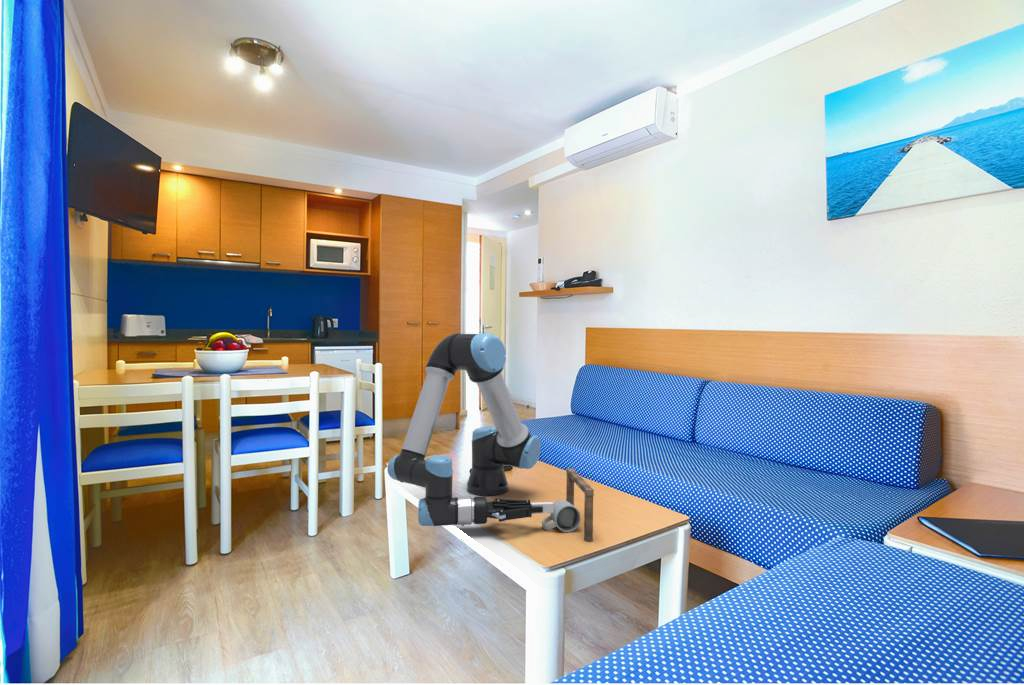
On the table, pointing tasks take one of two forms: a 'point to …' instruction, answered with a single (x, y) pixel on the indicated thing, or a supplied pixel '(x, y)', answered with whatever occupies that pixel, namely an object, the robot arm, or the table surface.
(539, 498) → the table surface
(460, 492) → the table surface
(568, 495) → the walnut gate
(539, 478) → the table surface
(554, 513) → the ceramic mug
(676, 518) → the table surface
